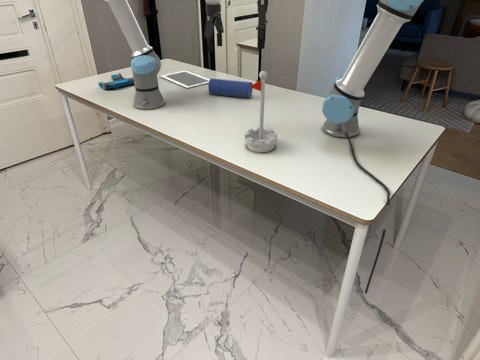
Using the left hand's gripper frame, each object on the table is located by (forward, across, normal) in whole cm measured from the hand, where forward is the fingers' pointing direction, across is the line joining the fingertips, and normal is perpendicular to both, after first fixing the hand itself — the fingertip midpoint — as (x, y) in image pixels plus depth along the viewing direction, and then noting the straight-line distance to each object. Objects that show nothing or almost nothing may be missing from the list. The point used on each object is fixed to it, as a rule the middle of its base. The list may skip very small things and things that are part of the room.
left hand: (215, 48), depth 178 cm
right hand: (-11, +38, +35) cm, 53 cm away
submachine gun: (+24, -4, -61) cm, 66 cm away
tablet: (+24, -20, -28) cm, 43 cm away
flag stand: (+24, +54, +40) cm, 72 cm away
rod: (+24, 0, +8) cm, 26 cm away
